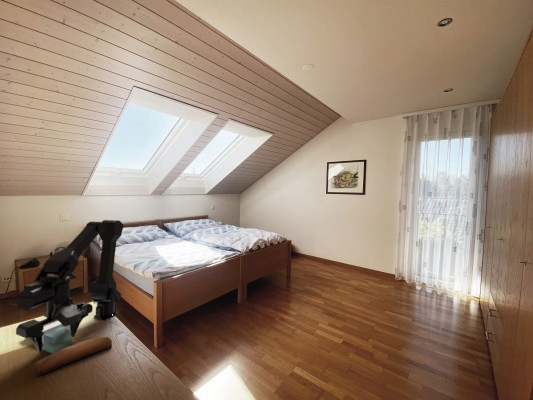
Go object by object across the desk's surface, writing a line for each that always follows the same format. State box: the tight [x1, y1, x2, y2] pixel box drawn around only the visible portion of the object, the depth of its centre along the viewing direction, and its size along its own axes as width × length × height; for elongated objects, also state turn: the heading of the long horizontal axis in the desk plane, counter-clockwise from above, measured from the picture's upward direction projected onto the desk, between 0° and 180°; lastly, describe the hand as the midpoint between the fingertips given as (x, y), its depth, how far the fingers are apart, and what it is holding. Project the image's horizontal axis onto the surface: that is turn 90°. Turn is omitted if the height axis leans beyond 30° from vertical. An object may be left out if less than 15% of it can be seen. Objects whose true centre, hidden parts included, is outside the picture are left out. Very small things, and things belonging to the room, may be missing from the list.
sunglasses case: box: [35, 336, 113, 377], centre depth 75 cm, size 18×7×7 cm, turn 141°
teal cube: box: [42, 327, 72, 354], centre depth 79 cm, size 5×5×5 cm
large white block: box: [40, 319, 70, 344], centre depth 87 cm, size 9×9×4 cm
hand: (57, 344), depth 79 cm, fingers open, 9 cm apart
